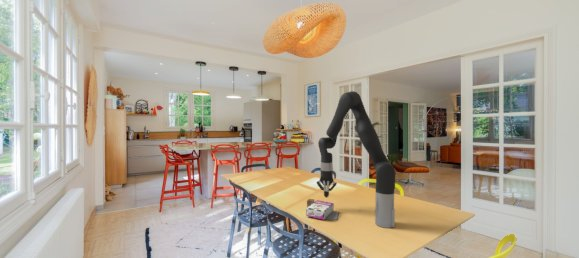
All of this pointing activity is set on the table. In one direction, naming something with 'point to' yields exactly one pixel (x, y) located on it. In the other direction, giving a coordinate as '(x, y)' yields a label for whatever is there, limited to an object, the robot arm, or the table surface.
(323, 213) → the candy bar box
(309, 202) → the walnut block
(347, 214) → the table surface
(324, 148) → the robot arm
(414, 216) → the table surface
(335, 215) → the rubber mat
